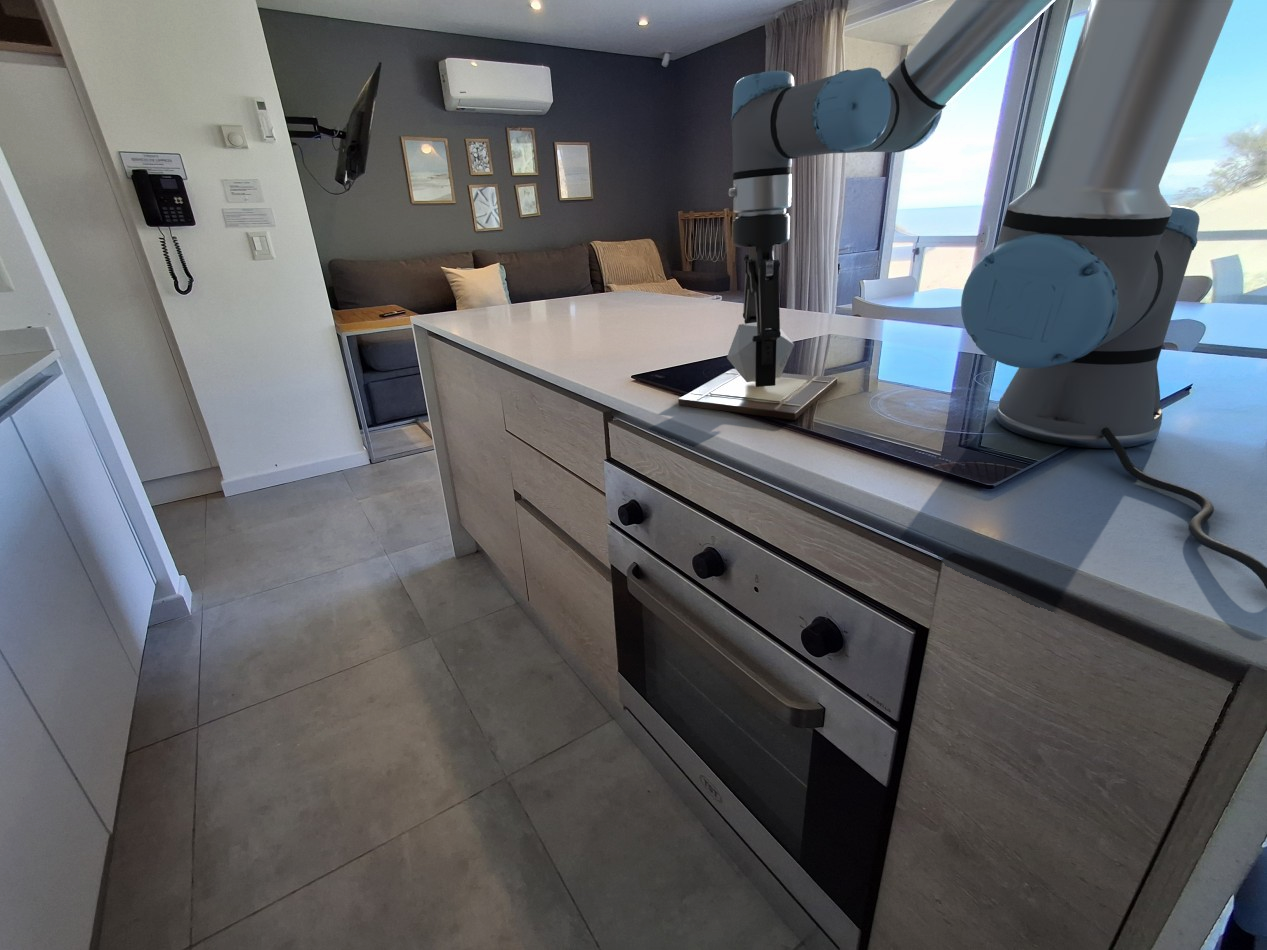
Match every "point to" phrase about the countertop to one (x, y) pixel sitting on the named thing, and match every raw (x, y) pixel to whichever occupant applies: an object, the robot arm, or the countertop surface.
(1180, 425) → the countertop surface
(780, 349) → the die
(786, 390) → the board
